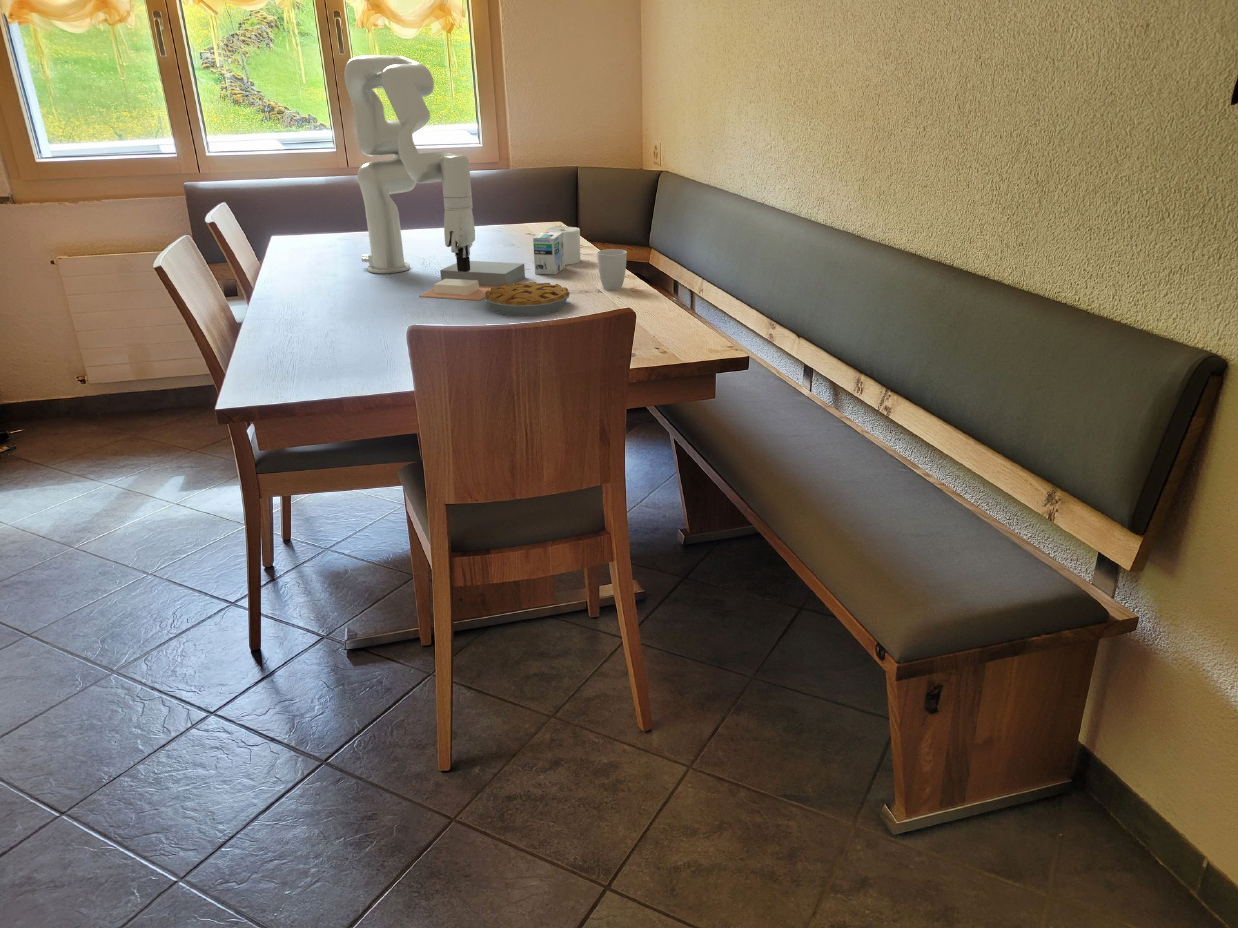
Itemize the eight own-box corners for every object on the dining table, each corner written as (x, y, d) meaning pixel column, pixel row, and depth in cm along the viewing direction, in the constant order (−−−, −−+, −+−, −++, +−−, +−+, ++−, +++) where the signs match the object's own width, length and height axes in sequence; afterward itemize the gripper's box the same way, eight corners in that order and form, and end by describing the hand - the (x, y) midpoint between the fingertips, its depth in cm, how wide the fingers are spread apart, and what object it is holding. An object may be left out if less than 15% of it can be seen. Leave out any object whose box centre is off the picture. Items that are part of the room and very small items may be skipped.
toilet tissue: (560, 266, 271) (559, 233, 267) (537, 261, 279) (536, 229, 275) (587, 261, 277) (586, 229, 273) (564, 256, 286) (563, 225, 281)
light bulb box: (555, 275, 260) (554, 238, 256) (534, 274, 262) (532, 237, 257) (565, 267, 270) (563, 231, 265) (544, 267, 271) (542, 231, 267)
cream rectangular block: (445, 278, 246) (446, 287, 247) (433, 284, 240) (434, 292, 241) (478, 280, 243) (478, 289, 244) (466, 286, 237) (467, 295, 238)
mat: (419, 296, 238) (419, 295, 238) (444, 284, 251) (444, 283, 251) (479, 300, 233) (479, 299, 233) (502, 288, 246) (502, 286, 246)
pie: (536, 322, 214) (535, 302, 212) (467, 311, 224) (466, 292, 222) (586, 303, 231) (585, 284, 228) (520, 293, 241) (519, 275, 239)
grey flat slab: (441, 284, 251) (440, 270, 250) (463, 273, 263) (462, 260, 262) (506, 288, 246) (505, 273, 244) (525, 277, 258) (524, 263, 256)
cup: (630, 286, 246) (630, 250, 242) (621, 292, 239) (621, 255, 235) (603, 284, 249) (603, 248, 245) (593, 290, 242) (592, 254, 238)
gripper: (457, 198, 244) (463, 265, 252) (432, 206, 231) (439, 276, 239) (482, 199, 242) (487, 266, 250) (458, 207, 229) (464, 277, 237)
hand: (464, 271), depth 244 cm, fingers closed
